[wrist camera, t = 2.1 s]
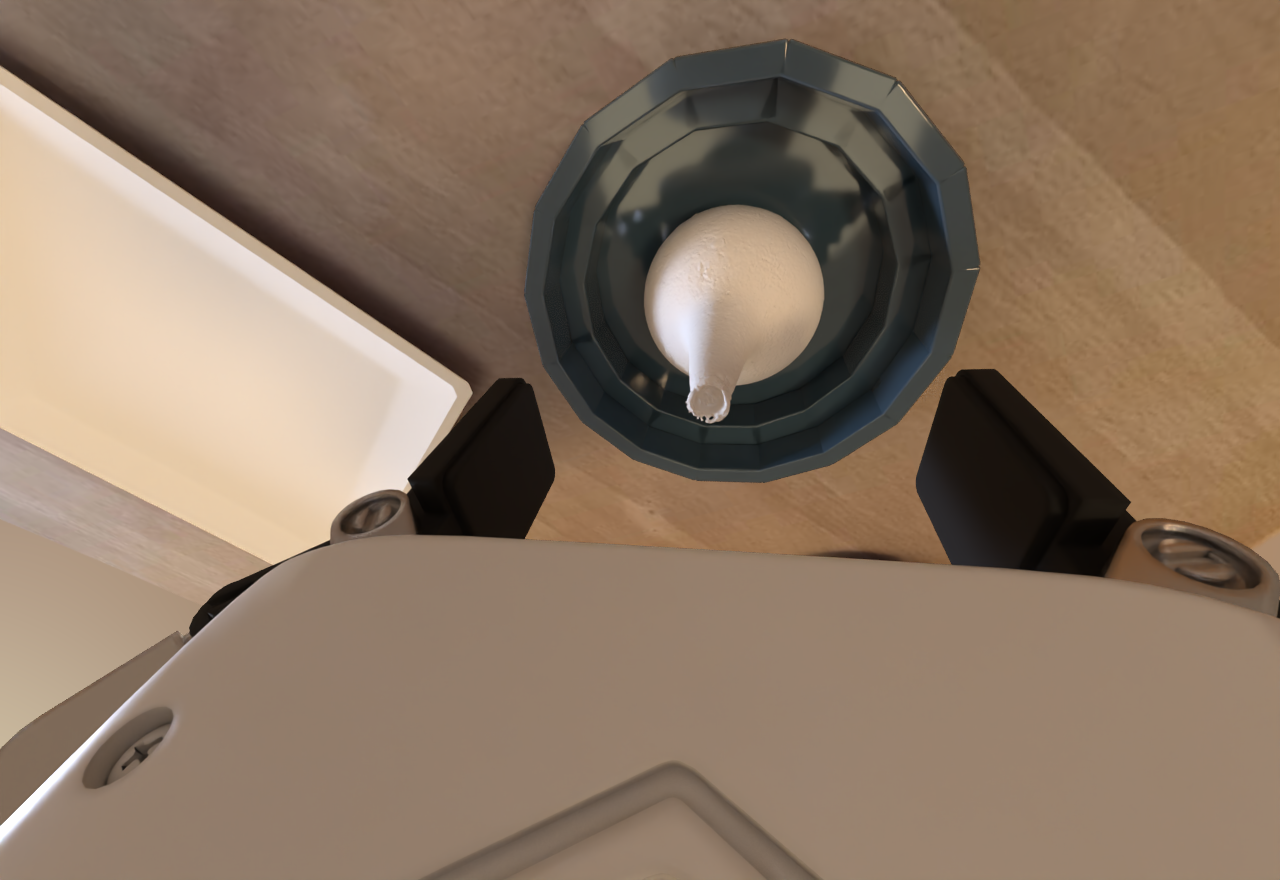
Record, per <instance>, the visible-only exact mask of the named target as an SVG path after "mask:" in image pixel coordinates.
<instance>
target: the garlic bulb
mask: <svg viewBox="0 0 1280 880" xmlns="http://www.w3.org/2000/svg"><path fill="white" fill-rule="evenodd" d="M823 302H824V283H823V277H822V272H821V268H820V265H819V262H818V259H817V257H816V255H815V253H814V251H813V249H812V247H811V246H810V244H809V242H808V241H807V240H806V239H805V237H804V236H803V235H802V234H801V233H800V232H799V231H798V229H797V228H796V227H794V226H793V225H792V224H791V223H789V222H788V221H787V220H785V219H784V218H782V216H780V215H777V214H775V213H773V212H770V211H768V210H765V209H762V208H758V207H753V206H747V205H738V204H737V205H726V206H719V207H714V208H710V209H708V210H705V211H702V212H700V213H696V214H694V215H693V216H692V217H691V218H690V219H688V220H686V221H685V222H683V223H682V224H680V225H679V226H678V227H677V228H676V229H675V230H674V231H673V232H672V233H671V234H670V235H669V236H668V237H667V239H666V240H665V241H664V242H663V244H662V245H661V246H660V248H659V249H658V251H657V253H656V255H655V257H654V259H653V261H652V263H651V266H650V268H649V271H648V274H647V278H646V283H645V291H644V309H645V316H646V321H647V324H648V328H649V330H650V333H651V336H652V338H653V340H654V342H655V344H656V345H657V347H658V349H659V350H660V351H661V353H662V354H663V355H664V357H665V358H666V359H667V360H668V361H669V362H670V363H671V364H672V365H673V366H675V367H676V368H677V369H679V370H680V371H681V372H683V373H685V374H686V375H688V376H690V377H689V384H690V391H691V392H690V393H689V395H688V398H687V401H686V403H687V409H688V410H689V413H690V412H692V413H693V416H697V419H699V417H700V419H701V421H703V419H702V417H703V416H705V417H706V420H705V422H706V423H710V424H711V423H714V422H719V421H721V420H723V418H725V417H726V416H727V415H728V413H729V410H730V400H731V395H732V393H733V391H734V389H735V386H736V385H745V384H750V383H754V382H757V381H761V380H763V379H765V378H768V377H770V376H772V375H774V374H776V373H778V372H779V371H781V370H782V369H784V368H785V367H787V366H788V365H789V364H790V363H792V362H793V361H794V360H795V359H796V358H797V357H798V356H799V355H800V354H801V353H802V351H803V350H804V349H805V348H806V346H807V345H808V343H809V342H810V340H811V338H812V337H813V335H814V333H815V330H816V329H817V326H818V324H819V321H820V316H821V313H822V310H823ZM711 416H713V417H714V418H713V419H712V420H709V418H710V417H711Z"/></svg>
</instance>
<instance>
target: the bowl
mask: <svg viewBox="0 0 1280 880" xmlns="http://www.w3.org/2000/svg"><path fill="white" fill-rule="evenodd" d="M737 204H738V205H747V206H753V207H758V208H762V209H765V210H768V211H770V212H773V213H775V214H777V215H780V216H782V218H784V219H785V220H787V221H788V222H789V223H791V224H792V225H793V226H794V227H796V228H797V229H798V231H799V232H800V233H801V234H802V235H803V236H804V237H805V239H806V240H807V241H808V242H809V244H810V246H811V247H812V249H813V251H814V253H815V255H816V257H817V259H818V262H819V265H820V268H821V272H822V277H823V283H824V302H823V310H822V313H821V316H820V321H819V324H818V326H817V329H816V330H815V333H814V335H813V337H812V338H811V340H810V342H809V343H808V345H807V346H806V348H805V349H804V350H803V351H802V353H801V354H800V355H799V356H798V357H797V358H796V359H795V360H794V361H793V362H792V363H790V364H789V365H788V366H787V367H785V368H784V369H782V370H781V371H779V372H778V373H776V374H774V375H772V376H770V377H768V378H765V379H763V380H761V381H757V382H754V383H750V384H745V385H736V386H735V389H734V391H733V393H732V395H731V400H730V410H729V413H728V415H727V416H726V417H725V418H723V420H721V421H719V422H714V423H711V424H710V423H706V422H705V420H706V417H705V416H703V417H702V419H703V421H701V419H700V417H699V419H697V416H693V413H692V412H690V413H689V410H688V409H687V403H686V401H687V398H688V395H689V393H690V392H691V391H690V384H689V377H690V376H688V375H686V374H685V373H683V372H681V371H680V370H679V369H677V368H676V367H675V366H673V365H672V364H671V363H670V362H669V361H668V360H667V359H666V358H665V357H664V355H663V354H662V353H661V351H660V350H659V349H658V347H657V345H656V344H655V342H654V340H653V338H652V336H651V333H650V330H649V328H648V324H647V321H646V316H645V309H644V291H645V283H646V278H647V274H648V271H649V268H650V266H651V263H652V261H653V259H654V257H655V255H656V253H657V251H658V249H659V248H660V246H661V245H662V244H663V242H664V241H665V240H666V239H667V237H668V236H669V235H670V234H671V233H672V232H673V231H674V230H675V229H676V228H677V227H678V226H679V225H680V224H682V223H683V222H685V221H686V220H688V219H690V218H691V217H692V216H693V215H694V214H696V213H700V212H702V211H705V210H708V209H710V208H714V207H719V206H726V205H737ZM979 270H980V257H979V251H978V244H977V237H976V230H975V223H974V216H973V209H972V202H971V195H970V188H969V182H968V175H967V168H966V167H965V166H964V161H963V160H962V159H961V157H960V156H959V155H958V154H957V152H956V151H955V150H954V149H953V147H952V146H951V145H950V143H949V142H948V141H947V140H946V138H945V137H944V136H943V135H942V133H941V132H940V131H939V129H938V128H937V127H936V126H935V124H934V123H933V122H932V121H931V119H930V118H929V117H928V115H927V114H926V113H925V112H924V110H923V109H922V108H921V107H920V105H919V104H918V103H917V101H916V100H915V99H914V98H913V96H912V95H911V94H910V92H909V91H908V90H907V89H906V87H905V86H904V85H903V84H902V82H901V81H898V80H897V79H896V77H893V76H891V75H888V74H885V73H883V72H880V71H877V70H875V69H872V68H869V67H866V66H864V65H861V64H858V63H856V62H853V61H850V60H848V59H845V58H842V57H840V56H837V55H834V54H831V53H829V52H826V51H823V50H821V49H818V48H815V47H813V46H810V45H807V44H804V43H802V42H799V41H796V40H794V39H790V40H789V41H788V39H780V40H774V41H768V42H762V43H756V44H750V45H744V46H737V47H731V48H725V49H719V50H713V51H707V52H701V53H695V54H689V55H682V56H677V57H675V58H674V59H673V58H671V59H669V60H668V61H667V62H665V63H664V64H662V65H661V66H660V67H658V68H657V69H656V70H654V71H653V72H651V73H650V74H649V75H647V76H646V77H645V78H643V79H642V80H640V81H639V82H638V83H636V84H635V85H634V86H632V87H631V88H629V89H628V90H627V91H625V92H624V93H623V94H621V95H620V96H618V97H617V98H616V99H614V100H613V101H612V102H610V103H609V104H607V105H606V106H605V107H603V108H602V109H601V110H599V111H598V112H596V113H595V114H594V115H592V116H591V117H590V118H588V119H587V120H585V121H584V124H582V125H581V127H580V128H579V130H578V132H577V134H576V135H575V137H574V139H573V141H572V142H571V144H570V146H569V148H568V149H567V151H566V153H565V155H564V156H563V158H562V160H561V162H560V163H559V165H558V167H557V169H556V170H555V172H554V174H553V176H552V178H551V179H550V181H549V183H548V185H547V186H546V188H545V190H544V192H543V193H542V195H541V197H540V199H539V200H538V202H537V204H536V206H535V210H534V214H533V222H532V231H531V239H530V247H529V255H528V264H527V272H526V280H525V289H524V292H525V293H524V296H525V300H526V304H527V308H528V311H529V315H530V319H531V323H532V327H533V330H534V334H535V338H536V342H537V346H538V350H539V353H540V357H541V361H542V365H543V367H544V369H545V370H546V371H547V373H548V374H549V376H550V377H551V379H552V380H553V381H554V383H555V384H556V386H557V387H558V389H559V390H560V391H561V393H562V394H563V396H564V397H565V399H566V400H567V402H568V403H569V404H570V406H571V407H572V409H573V410H574V412H575V413H576V414H577V416H578V417H579V419H580V420H581V421H582V422H583V423H584V424H585V425H587V426H588V427H589V428H591V429H592V430H593V431H595V432H596V433H597V434H599V435H600V436H602V437H603V438H604V439H606V440H607V441H608V442H610V443H611V444H612V445H614V446H615V447H617V448H618V449H619V450H621V451H622V452H623V453H625V454H626V455H627V456H629V457H630V458H631V459H633V460H636V461H638V462H641V463H644V464H647V465H650V466H653V467H656V468H659V469H662V470H665V471H668V472H671V473H674V474H677V475H680V476H683V477H686V478H689V479H692V480H697V481H718V482H750V483H762V482H763V483H766V482H769V481H773V480H777V479H781V478H784V477H788V476H792V475H796V474H800V473H803V472H807V471H811V470H815V469H818V468H822V467H826V466H830V465H832V464H834V463H836V462H837V461H839V460H841V459H842V458H844V457H845V456H847V455H849V454H850V453H852V452H853V451H855V450H857V449H858V448H860V447H861V446H863V445H865V444H866V443H868V442H869V441H871V440H873V439H874V438H876V437H877V436H879V435H881V434H882V433H884V432H885V431H887V430H889V429H890V428H892V427H893V426H895V425H897V424H898V422H900V420H901V419H902V418H903V417H904V416H905V414H906V413H907V412H908V411H909V409H910V408H911V407H912V406H913V404H914V403H915V402H916V401H917V400H918V398H919V397H920V396H921V395H922V393H923V392H924V391H925V390H926V388H927V387H928V386H929V385H930V384H931V382H932V381H933V380H934V379H935V377H936V376H937V375H938V374H939V372H940V371H941V370H942V369H943V368H944V366H945V365H946V364H947V363H948V361H949V360H950V359H951V357H952V355H953V353H954V350H955V347H956V344H957V340H958V337H959V334H960V331H961V328H962V324H963V321H964V318H965V315H966V312H967V309H968V305H969V302H970V299H971V296H972V293H973V290H974V286H975V283H976V280H977V277H978V274H979ZM713 418H714V417H713V416H711V417H710V418H709V420H712V419H713Z"/></svg>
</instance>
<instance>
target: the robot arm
mask: <svg viewBox="0 0 1280 880" xmlns="http://www.w3.org/2000/svg"><path fill="white" fill-rule="evenodd" d="M554 478H555V467H554V463H553V460H552V456H551V452H550V449H549V445H548V441H547V438H546V434H545V431H544V427H543V423H542V420H541V416H540V412H539V409H538V405H537V401H536V398H535V394H534V390H533V388H532V386H531V385H530V384H526V382H525V381H524V379H522V378H499V379H498V380H497V381H496V382H495V383H494V384H493V385H492V386H491V387H490V388H489V389H488V391H487V392H486V393H485V394H484V395H483V396H482V397H481V398H480V399H479V400H478V402H477V403H476V404H475V405H474V406H473V407H472V408H471V409H470V410H469V411H468V413H467V414H466V415H465V416H464V417H463V418H462V419H461V420H460V421H459V422H458V423H457V425H456V426H455V427H454V428H453V429H452V430H451V431H450V432H449V433H448V434H447V436H446V437H445V438H444V439H443V440H442V441H441V442H440V443H439V444H438V445H437V447H436V448H435V449H434V450H433V451H432V452H431V453H430V454H429V455H428V456H427V458H426V459H425V460H424V461H423V462H422V463H421V464H420V465H419V466H418V467H417V469H416V470H415V471H414V472H413V473H412V474H411V475H410V476H409V477H408V478H407V480H408V482H409V483H410V485H411V487H412V488H411V489H410V490H409V492H408V493H407V494H406V493H404V492H402V491H400V490H394V489H388V490H380V491H377V492H373V493H370V494H367V495H365V496H363V497H361V498H359V499H357V500H355V501H354V502H352V503H350V504H349V505H347V506H346V507H345V508H344V509H343V510H342V511H340V512H339V513H338V515H337V516H336V517H335V519H334V520H333V522H332V525H331V529H330V540H328V541H326V542H324V543H322V544H319V545H317V546H315V547H313V548H310V549H308V550H306V551H304V552H301V553H299V554H297V555H295V556H292V557H290V558H288V559H286V560H284V561H281V562H279V563H277V564H275V565H272V566H270V567H268V568H266V569H263V570H261V571H259V572H257V573H254V574H252V575H250V576H248V577H245V578H243V579H241V580H239V581H236V582H233V583H231V584H228V585H227V586H225V587H223V588H222V589H220V590H219V591H217V592H216V593H215V594H214V595H213V596H212V597H211V598H210V599H209V600H208V601H207V602H206V603H205V604H204V605H203V606H202V607H201V608H200V610H199V611H198V613H197V614H196V615H195V616H194V617H193V620H192V622H191V625H190V627H189V629H190V632H189V633H188V634H186V635H184V636H183V635H182V634H181V633H180V632H179V631H176V632H175V633H173V634H171V635H170V636H168V637H166V638H165V639H163V640H162V641H160V642H159V643H157V644H155V645H154V646H152V647H150V648H149V649H147V650H145V651H144V652H142V653H141V654H139V655H138V656H136V657H134V658H133V659H131V660H129V661H128V662H126V663H125V664H123V665H121V666H120V667H118V668H117V669H115V670H113V671H112V672H110V673H108V674H107V675H105V676H104V677H102V678H100V679H99V680H97V681H96V682H94V683H92V684H91V685H89V686H88V687H86V688H84V689H83V690H81V691H79V692H78V693H76V694H75V695H73V696H71V697H70V698H68V699H66V700H65V701H63V702H62V703H60V704H58V705H57V706H55V707H54V708H52V709H50V710H49V711H47V712H45V713H44V714H42V715H41V716H39V717H38V718H37V719H35V720H34V721H32V722H31V723H30V724H28V725H27V726H25V727H24V728H22V729H21V730H20V731H19V732H18V733H17V734H15V735H14V736H13V737H12V738H11V739H10V740H9V741H8V742H7V743H6V744H5V745H4V746H3V747H2V748H1V749H0V880H1280V600H1279V598H1280V580H1279V576H1278V574H1277V573H1276V571H1275V570H1274V569H1273V568H1272V567H1271V565H1270V564H1269V563H1268V562H1267V561H1266V560H1265V559H1263V558H1262V557H1261V556H1259V555H1258V554H1257V553H1255V552H1254V551H1253V550H1251V549H1250V548H1248V547H1246V546H1245V545H1243V544H1241V543H1239V542H1237V541H1236V540H1234V539H1232V538H1230V537H1228V536H1225V535H1223V534H1221V533H1218V532H1216V531H1213V530H1211V529H1208V528H1205V527H1202V526H1198V525H1195V524H1191V523H1188V522H1184V521H1178V520H1171V519H1165V518H1148V519H1143V520H1139V521H1136V520H1135V519H1134V518H1133V517H1132V516H1131V515H1130V514H1129V513H1128V512H1127V511H1126V509H1127V507H1128V506H1129V504H1130V503H1131V502H1130V501H1129V500H1128V499H1127V498H1126V497H1125V496H1124V495H1123V494H1122V493H1121V492H1120V491H1119V490H1118V489H1117V488H1116V487H1115V486H1114V485H1113V484H1112V483H1111V482H1110V481H1109V480H1108V479H1107V478H1106V477H1105V476H1104V475H1103V474H1102V473H1101V472H1100V471H1099V470H1098V469H1097V468H1096V467H1095V466H1094V465H1093V464H1092V463H1091V462H1090V461H1089V460H1088V459H1087V458H1086V457H1085V456H1084V455H1083V454H1081V453H1080V452H1079V451H1078V450H1077V449H1076V448H1075V447H1074V446H1073V445H1072V444H1071V443H1070V442H1069V441H1068V440H1067V439H1066V438H1065V437H1064V436H1063V435H1062V434H1061V433H1060V432H1059V431H1058V430H1057V429H1056V428H1055V427H1054V426H1053V425H1052V424H1051V423H1050V422H1049V421H1048V420H1047V419H1046V418H1045V417H1044V416H1043V415H1042V414H1041V413H1040V412H1039V411H1038V410H1037V409H1036V408H1035V407H1034V406H1033V405H1032V404H1031V403H1030V402H1029V401H1028V400H1026V399H1025V398H1024V397H1023V396H1022V395H1021V394H1020V393H1019V392H1018V391H1017V390H1016V389H1015V388H1014V387H1013V386H1012V385H1011V384H1010V383H1009V382H1008V381H1007V380H1006V379H1005V378H1004V377H1003V376H1002V375H1001V374H1000V373H999V372H998V371H997V370H995V369H971V370H960V371H959V372H958V373H957V374H956V376H955V377H949V378H948V379H947V380H946V382H945V385H944V388H943V391H942V394H941V398H940V401H939V404H938V408H937V411H936V414H935V417H934V421H933V424H932V427H931V430H930V434H929V437H928V440H927V443H926V447H925V450H924V453H923V457H922V460H921V463H920V466H919V470H918V473H917V477H916V489H917V493H918V495H919V497H920V499H921V501H922V503H923V505H924V507H925V510H926V512H927V514H928V516H929V518H930V520H931V522H932V524H933V526H934V528H935V531H936V533H937V535H938V537H939V539H940V541H941V543H942V545H943V547H944V549H945V551H946V554H947V556H948V558H949V560H950V562H951V564H952V565H946V564H931V563H915V562H900V561H884V560H868V559H853V558H837V557H820V556H804V555H787V554H770V553H754V552H737V551H721V550H704V549H687V548H670V547H652V546H635V545H618V544H601V543H585V542H567V541H548V540H530V539H525V537H526V535H527V533H528V531H529V529H530V527H531V525H532V523H533V521H534V519H535V517H536V515H537V513H538V511H539V509H540V507H541V505H542V503H543V501H544V499H545V497H546V495H547V493H548V491H549V489H550V487H551V485H552V483H553V481H554Z"/></svg>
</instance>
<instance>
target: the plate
mask: <svg viewBox="0 0 1280 880" xmlns="http://www.w3.org/2000/svg"><path fill="white" fill-rule="evenodd" d="M472 394H473V393H472V390H471V388H470V385H469V383H468V382H467V381H465V380H464V379H463V378H461V377H460V376H458V375H457V374H456V373H454V372H453V371H451V370H450V369H448V368H447V367H445V366H444V365H442V364H441V363H439V362H438V361H436V360H435V359H433V358H432V357H430V356H429V355H427V354H426V353H425V352H423V351H422V350H420V349H419V348H417V347H416V346H414V345H413V344H411V343H410V342H408V341H407V340H405V339H404V338H402V337H401V336H399V335H398V334H396V333H395V332H394V331H392V330H391V329H389V328H388V327H386V326H385V325H383V324H382V323H380V322H379V321H377V320H376V319H374V318H373V317H371V316H370V315H368V314H367V313H365V312H364V311H363V310H361V309H360V308H358V307H357V306H355V305H354V304H352V303H351V302H349V301H348V300H346V299H345V298H343V297H342V296H340V295H339V294H337V293H336V292H334V291H333V290H332V289H330V288H329V287H327V286H326V285H324V284H323V283H321V282H320V281H318V280H317V279H315V278H314V277H312V276H311V275H309V274H308V273H306V272H305V271H303V270H302V269H300V268H299V267H298V266H296V265H295V264H293V263H292V262H290V261H289V260H287V259H286V258H284V257H283V256H281V255H280V254H278V253H277V252H275V251H274V250H272V249H271V248H269V247H268V246H267V245H265V244H264V243H262V242H261V241H259V240H258V239H256V238H255V237H253V236H252V235H250V234H249V233H247V232H246V231H244V230H243V229H241V228H240V227H238V226H237V225H236V224H234V223H233V222H231V221H230V220H228V219H227V218H225V217H224V216H222V215H221V214H219V213H218V212H216V211H215V210H213V209H212V208H210V207H209V206H207V205H206V204H205V203H203V202H202V201H200V200H199V199H197V198H196V197H194V196H193V195H191V194H190V193H188V192H187V191H185V190H184V189H182V188H181V187H179V186H178V185H176V184H175V183H174V182H172V181H171V180H169V179H168V178H166V177H165V176H163V175H162V174H160V173H159V172H157V171H156V170H154V169H153V168H151V167H150V166H148V165H147V164H145V163H144V162H143V161H141V160H140V159H138V158H137V157H135V156H134V155H132V154H131V153H129V152H128V151H126V150H125V149H123V148H122V147H120V146H119V145H117V144H116V143H114V142H113V141H112V140H110V139H109V138H107V137H106V136H104V135H103V134H101V133H100V132H98V131H97V130H95V129H94V128H92V127H91V126H89V125H88V124H86V123H85V122H83V121H82V120H81V119H79V118H78V117H76V116H75V115H73V114H72V113H70V112H69V111H67V110H66V109H64V108H63V107H61V106H60V105H58V104H57V103H55V102H54V101H52V100H51V99H50V98H48V97H47V96H45V95H44V94H42V93H41V92H39V91H38V90H36V89H35V88H33V87H32V86H30V85H29V84H27V83H26V82H24V81H23V80H21V79H20V78H19V77H17V76H16V75H14V74H13V73H11V72H10V71H8V70H7V69H5V68H4V67H2V66H1V65H0V428H2V429H4V430H6V431H8V432H10V433H12V434H14V435H16V436H18V437H20V438H22V439H24V440H26V441H28V442H30V443H32V444H34V445H36V446H38V447H40V448H42V449H44V450H46V451H48V452H50V453H52V454H54V455H56V456H58V457H60V458H61V459H63V460H65V461H67V462H69V463H71V464H73V465H75V466H77V467H79V468H81V469H83V470H85V471H87V472H89V473H91V474H93V475H95V476H97V477H99V478H101V479H103V480H105V481H107V482H109V483H111V484H113V485H115V486H117V487H119V488H121V489H123V490H125V491H127V492H129V493H131V494H133V495H135V496H137V497H139V498H141V499H143V500H145V501H147V502H149V503H151V504H153V505H155V506H157V507H159V508H161V509H163V510H165V511H167V512H169V513H171V514H173V515H175V516H177V517H179V518H181V519H183V520H185V521H187V522H189V523H191V524H193V525H195V526H197V527H199V528H201V529H203V530H205V531H207V532H209V533H211V534H213V535H215V536H217V537H219V538H221V539H223V540H225V541H227V542H229V543H231V544H233V545H235V546H237V547H239V548H241V549H243V550H245V551H246V552H248V553H250V554H252V555H254V556H256V557H258V558H260V559H262V560H264V561H266V562H268V563H270V564H272V565H275V564H277V563H279V562H281V561H284V560H286V559H288V558H290V557H292V556H295V555H297V554H299V553H301V552H304V551H306V550H308V549H310V548H313V547H315V546H317V545H319V544H322V543H324V542H326V541H328V540H330V529H331V525H332V522H333V520H334V519H335V517H336V516H337V515H338V513H339V512H340V511H342V510H343V509H344V508H345V507H346V506H347V505H349V504H350V503H352V502H354V501H355V500H357V499H359V498H361V497H363V496H365V495H367V494H370V493H373V492H377V491H380V490H388V489H394V490H400V491H402V492H404V493H406V494H407V493H408V492H409V490H410V489H411V488H412V487H411V485H410V483H409V482H408V480H407V478H408V477H409V476H410V475H411V474H412V473H413V472H414V471H415V470H416V469H417V467H418V466H419V465H420V464H421V463H422V462H423V461H424V460H425V459H426V458H427V456H428V455H429V454H430V453H431V452H432V451H433V450H434V449H435V448H436V447H437V445H438V444H439V443H440V442H441V441H442V440H443V439H444V438H445V437H446V436H447V434H448V433H449V432H450V430H451V428H452V427H453V425H454V423H455V422H456V420H457V418H458V417H459V415H460V413H461V412H462V410H463V409H464V407H465V405H466V404H467V402H468V400H469V399H470V397H471V395H472Z"/></svg>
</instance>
